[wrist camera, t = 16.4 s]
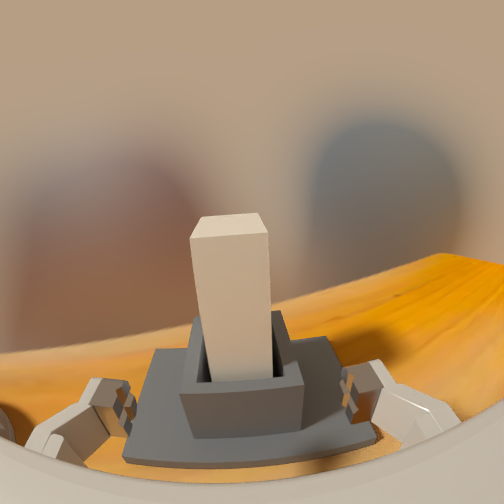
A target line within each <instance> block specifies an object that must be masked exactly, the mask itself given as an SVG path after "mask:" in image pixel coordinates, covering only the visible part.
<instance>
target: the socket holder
mask: <svg viewBox="0 0 504 504" xmlns="http://www.w3.org/2000/svg"><path fill="white" fill-rule="evenodd" d="M271 328H272V365H273V378H266V379H255V380H243V381H228V382H212V379H211V374H210V369H209V364H208V358H207V353H206V347H205V341H204V336H203V330H202V324H201V317H194V320H193V325H192V329H191V334H190V339H189V344H188V348H176V349H156V350H155V353H154V356H153V358H152V361H151V364H150V367H149V370H148V373H147V376H146V379H145V382H144V385H143V388H142V391H141V394H140V397H139V400H138V403H137V413H136V417H135V418H134V419H133V420H132V425H133V427H132V430H131V433H130V437H129V438H127V440H126V443H125V447H124V450H123V454H122V457H123V459H124V460H125V461H126V463H131V464H138V465H146V466H156V467H168V468H185V469H232V468H249V467H261V466H271V465H280V464H287V463H294V462H300V461H306V460H312V459H317V458H322V457H327V456H332V455H336V454H340V453H344V452H348V451H352V450H356V449H360V448H363V447H367V446H370V445H374V443H375V441H376V439H377V436H376V434H375V432H374V430H373V428H372V425H371V423H370V421H366V422H362V423H358V424H353V425H350V423H349V421H348V418H347V416H346V414H345V412H346V407H344V406H343V405H342V404H341V402H340V399H339V392H338V388H339V383H340V382H341V380H342V376H341V370H342V366H341V364H340V362H339V360H338V358H337V356H336V354H335V352H334V350H333V348H332V346H331V344H330V342H329V341H328V339H327V337H326V336H321V337H314V338H306V339H299V340H290V338H289V335H288V332H287V329H286V326H285V323H284V320H283V317H282V314H281V311H280V310H279V311H271Z"/></svg>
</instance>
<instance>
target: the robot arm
mask: <svg viewBox="0 0 504 504" xmlns="http://www.w3.org/2000/svg"><path fill="white" fill-rule="evenodd" d="M341 376H342V380H341V382H340V383H339V388H338V392H339V399H340V402H341V404H342V405H343V406H344V407H346V412H345V414H346V416H347V418H348V421H349V423H350V425H353V424H358V423H362V422H366V421H371V422H372V423H374V424H375V425H377V426H378V427H380V428H381V429H382V430H384V431H385V432H387V433H388V434H390V435H391V436H393V437H394V438H396V439H397V440H399V441H400V442H402V443H403V444H402V446H401V447H400V449H399V451H396V452H394V453H391V454H388V455H385V456H382V457H379V458H376V459H373V460H369V461H366V462H362V463H359V464H355V465H352V466H348V467H344V468H340V469H335V470H331V471H326V472H321V473H316V474H311V475H306V476H300V477H293V478H286V479H278V480H269V481H259V482H244V483H183V482H169V481H158V480H150V479H142V478H135V477H129V476H123V475H117V474H112V473H107V472H103V471H98V470H94V469H90V468H88V467H87V466H86V465H85V464H84V461H85V460H86V459H87V458H88V457H89V456H90V455H92V454H93V453H94V452H95V451H96V450H97V449H98V448H99V447H100V446H101V445H102V444H103V443H104V442H105V441H106V440H107V439H109V438H110V436H116V437H125V438H129V437H130V433H131V430H132V427H133V425H132V423H131V420H133V419H134V418H135V417H136V413H137V403H136V399H135V397H134V395H133V394H131V393H130V392H129V391H130V388H131V387H130V385H129V383H128V381H126V380H116V379H107V378H97V377H93V378H91V379H90V381H89V383H88V385H87V387H86V388H85V390H84V392H83V394H82V396H81V398H80V400H79V402H78V403H74V404H72V405H70V406H69V407H67V408H65V409H64V410H62V411H61V412H59V413H57V414H56V415H54V416H52V417H51V418H49V419H47V420H46V421H44V422H42V423H41V424H39V425H37V426H36V427H35V428H34V430H33V432H32V433H31V435H30V437H29V439H28V441H27V443H26V445H25V446H24V447H23V446H21V445H18V444H16V443H14V442H11V441H9V440H7V439H5V438H3V437H1V436H0V504H504V398H502V399H501V400H499V401H498V402H496V403H494V404H493V405H491V406H490V407H488V408H486V409H485V410H483V411H482V412H480V413H478V414H476V415H475V416H473V417H471V418H469V419H467V420H466V421H464V422H461V421H460V420H459V418H458V417H457V416H456V414H455V413H454V412H453V410H452V409H451V408H450V406H449V405H448V404H447V403H445V402H443V401H441V400H438V399H436V398H433V397H431V396H429V395H426V394H424V393H422V392H419V391H417V390H415V389H412V388H410V387H408V386H406V385H403V384H401V383H399V384H397V383H396V381H395V380H394V379H393V377H392V376H391V374H390V373H389V371H388V370H387V369H386V367H385V366H384V364H383V363H382V361H381V360H379V359H376V360H372V361H368V362H364V363H360V364H355V365H350V366H345V367H343V368H342V370H341Z"/></svg>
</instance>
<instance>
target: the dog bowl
mask: <svg viewBox="0 0 504 504" xmlns="http://www.w3.org/2000/svg"><path fill="white" fill-rule="evenodd" d="M0 436H1V437H3V438H5V439H7V440H9V441H11V442H14V443H16V440H15V434H14V430H13V427H12V424H11V422H10V420H9V418H8V416H7V415H6V413H5V412H4V411H3V410H2V409H1V408H0Z"/></svg>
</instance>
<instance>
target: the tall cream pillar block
mask: <svg viewBox="0 0 504 504" xmlns="http://www.w3.org/2000/svg"><path fill="white" fill-rule="evenodd" d="M190 246H191V254H192V261H193V270H194V277H195V283H196V291H197V298H198V305H199V311H200V317H201V324H202V330H203V336H204V341H205V347H206V353H207V358H208V364H209V369H210V374H211V379H212V382H228V381H243V380H255V379H266V378H273V365H272V328H271V298H270V272H269V246H268V232H267V230H266V228H265V226H264V224H263V222H262V220H261V219H260V217H259V215H258V213H248V214H235V215H221V216H209V217H201V219H200V220H199V222H198V224H197V226H196V228H195V229H194V231H193V233H192V235H191V237H190Z"/></svg>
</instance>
